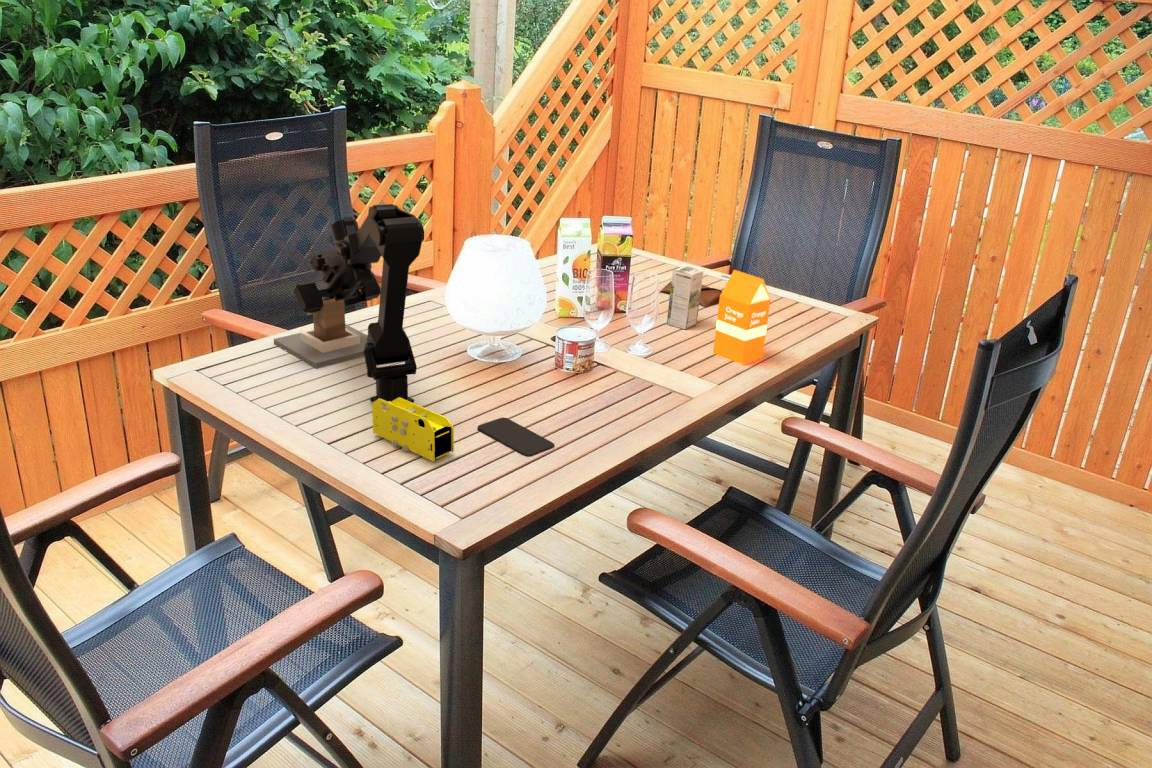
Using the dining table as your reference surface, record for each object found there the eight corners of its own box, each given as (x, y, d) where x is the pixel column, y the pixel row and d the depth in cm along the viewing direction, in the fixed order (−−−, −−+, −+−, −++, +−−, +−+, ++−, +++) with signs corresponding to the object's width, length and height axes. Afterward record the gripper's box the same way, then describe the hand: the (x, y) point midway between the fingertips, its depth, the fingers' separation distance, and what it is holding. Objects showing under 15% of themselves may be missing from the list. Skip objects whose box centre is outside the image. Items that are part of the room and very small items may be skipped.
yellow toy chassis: (371, 437, 177) (369, 396, 174) (394, 427, 181) (393, 387, 178) (431, 466, 168) (431, 423, 165) (454, 455, 173) (455, 413, 169)
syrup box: (677, 319, 247) (683, 264, 242) (697, 324, 244) (703, 269, 238) (666, 324, 243) (671, 269, 237) (686, 330, 240) (692, 274, 234)
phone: (527, 456, 173) (474, 426, 182) (527, 460, 173) (474, 430, 183) (557, 444, 178) (504, 416, 187) (557, 448, 178) (504, 420, 188)
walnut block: (346, 342, 216) (344, 300, 212) (326, 347, 213) (324, 304, 209) (334, 336, 219) (332, 294, 215) (314, 341, 216) (312, 298, 212)
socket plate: (387, 350, 217) (386, 336, 216) (315, 368, 205) (315, 354, 204) (343, 327, 228) (343, 315, 227) (274, 343, 217) (273, 330, 215)
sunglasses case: (655, 291, 268) (665, 269, 268) (668, 299, 274) (677, 277, 274) (707, 308, 257) (717, 285, 257) (719, 316, 262) (729, 294, 262)
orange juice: (741, 365, 220) (752, 281, 212) (712, 353, 226) (722, 271, 218) (763, 358, 225) (774, 276, 217) (734, 347, 231) (744, 266, 223)
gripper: (372, 235, 210) (347, 271, 222) (295, 247, 198) (272, 285, 209) (393, 278, 208) (367, 313, 220) (317, 294, 196) (292, 329, 208)
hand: (325, 309), depth 214 cm, fingers open, 9 cm apart
